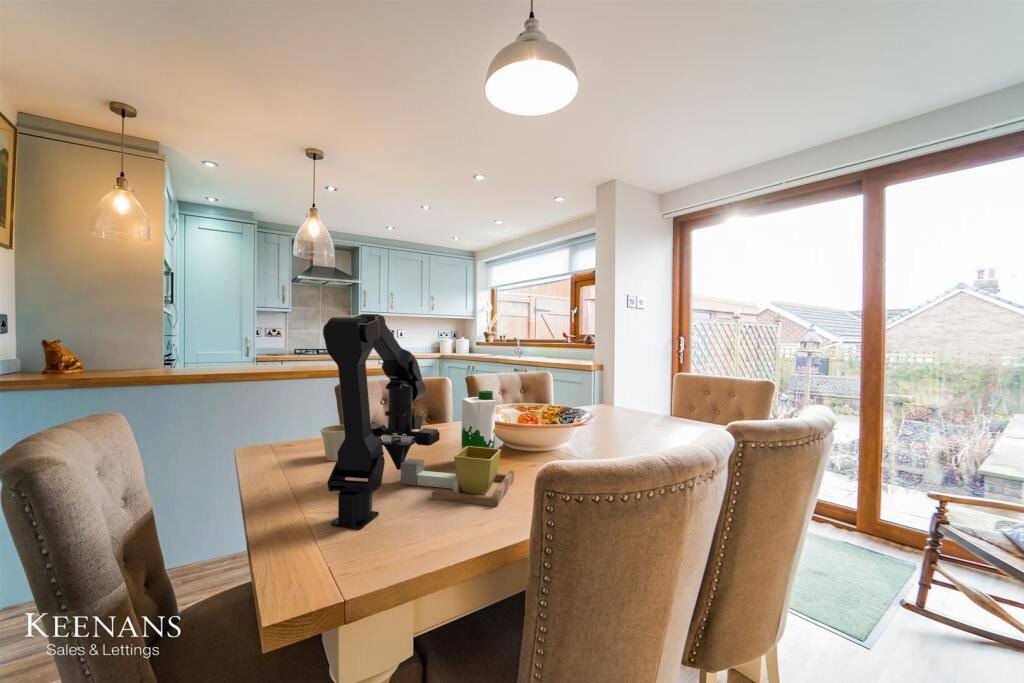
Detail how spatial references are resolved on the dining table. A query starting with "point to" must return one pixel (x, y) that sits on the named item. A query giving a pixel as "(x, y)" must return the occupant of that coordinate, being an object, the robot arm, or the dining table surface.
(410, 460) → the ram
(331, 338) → the robot arm
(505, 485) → the bay
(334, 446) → the flower pot
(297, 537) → the dining table surface
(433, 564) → the dining table surface
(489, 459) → the flower pot
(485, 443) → the milk carton
